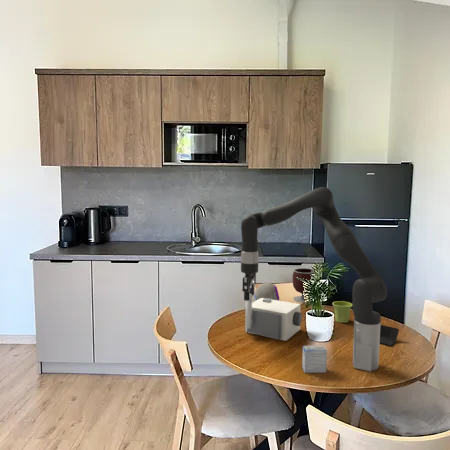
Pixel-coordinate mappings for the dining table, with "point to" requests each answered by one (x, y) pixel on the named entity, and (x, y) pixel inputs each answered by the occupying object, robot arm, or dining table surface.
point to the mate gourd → (299, 284)
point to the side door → (262, 321)
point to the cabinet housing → (289, 315)
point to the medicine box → (314, 359)
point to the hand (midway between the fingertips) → (249, 297)
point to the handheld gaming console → (388, 335)
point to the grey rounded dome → (267, 291)
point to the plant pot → (342, 311)
